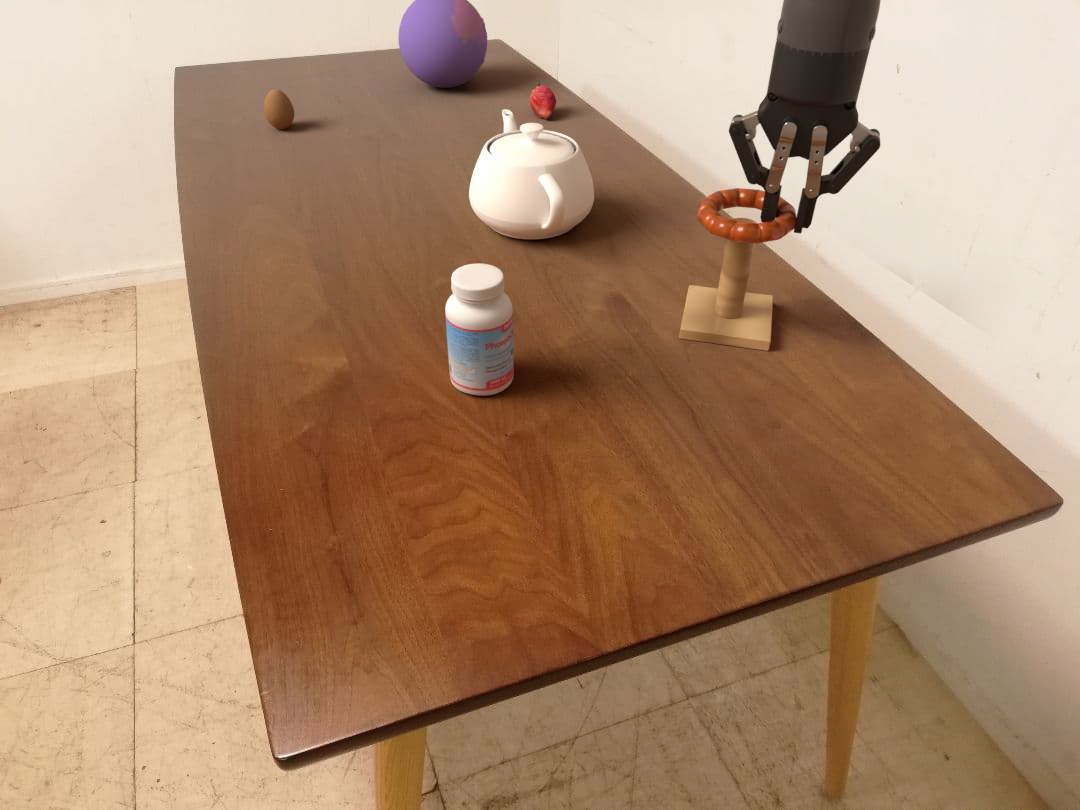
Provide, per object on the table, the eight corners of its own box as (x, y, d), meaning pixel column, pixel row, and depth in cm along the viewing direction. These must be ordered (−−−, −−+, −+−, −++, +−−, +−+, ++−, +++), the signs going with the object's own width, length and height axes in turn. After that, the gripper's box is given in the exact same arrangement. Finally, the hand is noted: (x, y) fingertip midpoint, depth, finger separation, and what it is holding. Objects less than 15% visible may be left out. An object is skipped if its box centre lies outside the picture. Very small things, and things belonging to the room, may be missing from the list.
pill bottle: (500, 404, 75) (497, 299, 68) (439, 390, 77) (430, 286, 70) (523, 367, 80) (522, 265, 73) (465, 355, 81) (458, 254, 74)
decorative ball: (495, 97, 140) (493, 1, 130) (407, 102, 137) (397, 5, 128) (481, 69, 151) (478, -20, 142) (399, 74, 149) (390, -17, 139)
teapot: (620, 256, 97) (628, 156, 89) (492, 273, 94) (489, 171, 86) (559, 172, 116) (561, 84, 108) (451, 184, 112) (445, 93, 105)
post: (770, 304, 89) (791, 209, 82) (768, 351, 82) (791, 251, 75) (687, 293, 91) (701, 199, 83) (678, 338, 84) (692, 239, 77)
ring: (792, 206, 82) (796, 189, 81) (795, 250, 75) (799, 232, 74) (699, 198, 83) (702, 182, 82) (694, 241, 76) (696, 223, 75)
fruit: (534, 123, 130) (534, 91, 127) (526, 110, 135) (526, 79, 132) (560, 121, 131) (560, 89, 128) (551, 108, 136) (551, 77, 133)
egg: (294, 133, 126) (287, 94, 122) (265, 134, 126) (257, 94, 122) (299, 123, 130) (292, 84, 126) (270, 123, 129) (262, 84, 126)
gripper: (910, 31, 69) (858, 220, 80) (744, 17, 72) (716, 202, 83) (915, 56, 63) (858, 256, 74) (734, 40, 66) (705, 235, 77)
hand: (783, 227), depth 78 cm, fingers closed on ring, 2 cm apart
